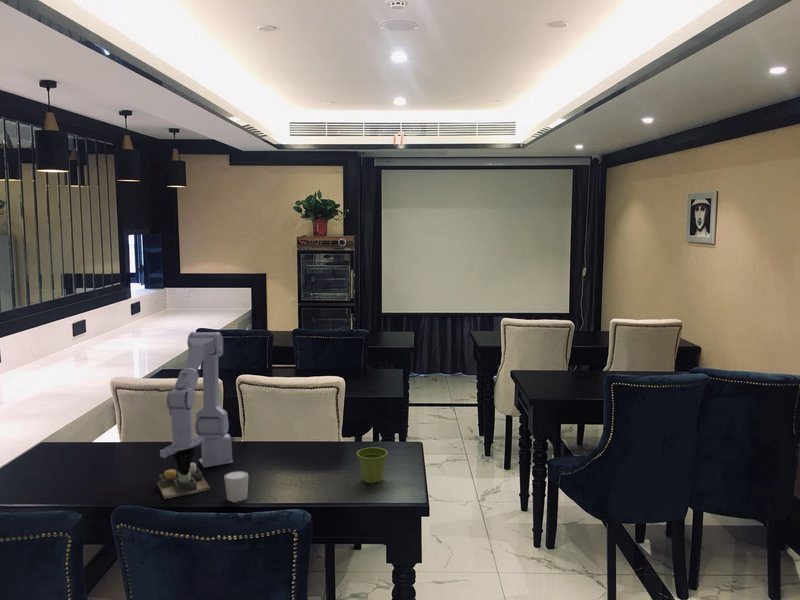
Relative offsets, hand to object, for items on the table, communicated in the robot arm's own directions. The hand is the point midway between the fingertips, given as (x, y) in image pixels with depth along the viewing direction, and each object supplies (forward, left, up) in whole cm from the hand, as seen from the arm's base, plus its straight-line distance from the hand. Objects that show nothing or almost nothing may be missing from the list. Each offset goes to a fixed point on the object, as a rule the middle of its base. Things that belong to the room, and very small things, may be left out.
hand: (184, 474), depth 204 cm
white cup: (-12, +13, -6) cm, 19 cm away
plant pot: (-52, +20, -6) cm, 56 cm away
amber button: (+3, -7, -4) cm, 8 cm away
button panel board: (0, -3, -5) cm, 6 cm away
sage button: (0, 0, -3) cm, 3 cm away
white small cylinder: (-3, -7, -3) cm, 8 cm away
